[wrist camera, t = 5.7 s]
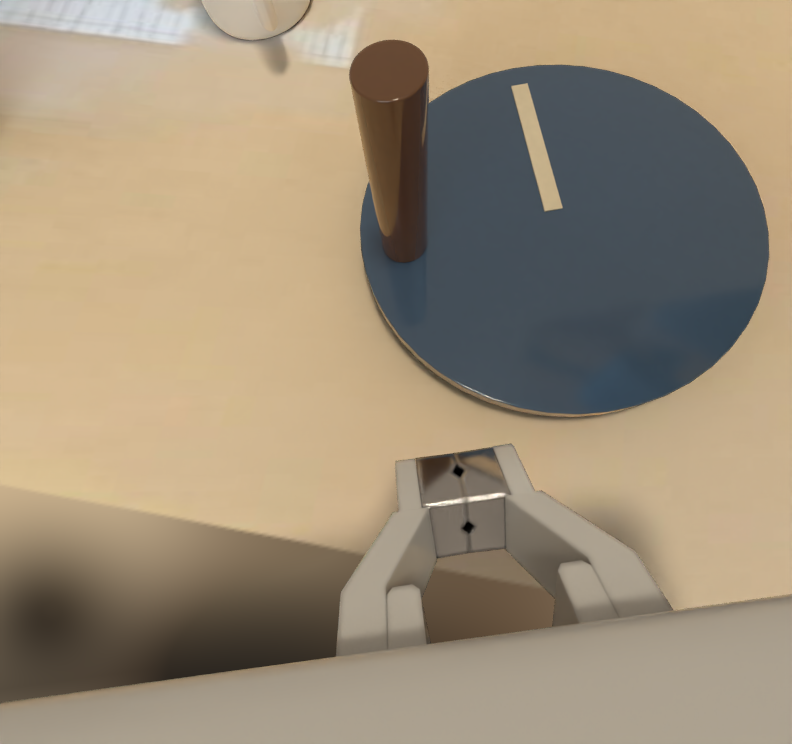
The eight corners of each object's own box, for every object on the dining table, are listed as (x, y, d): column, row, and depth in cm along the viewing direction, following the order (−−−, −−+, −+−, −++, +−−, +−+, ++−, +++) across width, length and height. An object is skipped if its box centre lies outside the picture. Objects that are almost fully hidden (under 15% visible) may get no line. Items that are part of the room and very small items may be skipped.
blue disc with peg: (821, 383, 20) (1267, 280, 9) (387, 445, 21) (347, 415, 10) (681, 52, 26) (863, -246, 15) (344, 111, 26) (289, -132, 16)
